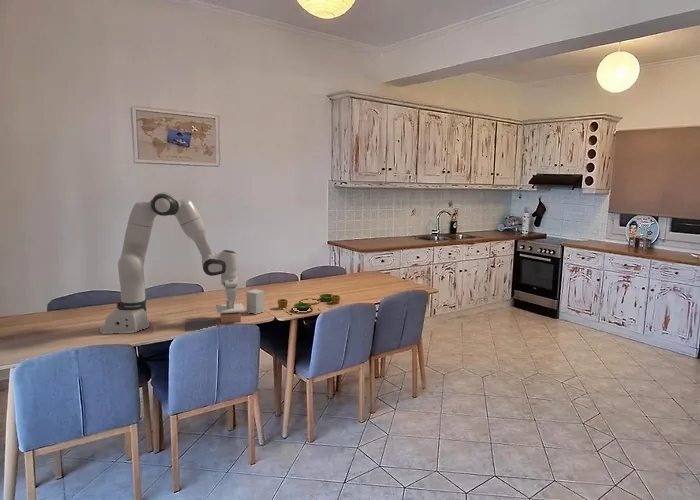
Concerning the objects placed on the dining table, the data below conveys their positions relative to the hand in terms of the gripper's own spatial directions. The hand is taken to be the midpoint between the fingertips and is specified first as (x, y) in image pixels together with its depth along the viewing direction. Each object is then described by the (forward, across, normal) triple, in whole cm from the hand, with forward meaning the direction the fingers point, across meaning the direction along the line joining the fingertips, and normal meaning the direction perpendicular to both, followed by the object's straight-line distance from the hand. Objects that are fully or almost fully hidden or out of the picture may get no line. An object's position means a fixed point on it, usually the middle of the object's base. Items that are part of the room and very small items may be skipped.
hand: (230, 305), depth 247 cm
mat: (+8, +6, -15) cm, 18 cm away
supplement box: (+8, -12, +15) cm, 21 cm away
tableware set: (+9, -19, +50) cm, 54 cm away
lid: (+2, 0, 0) cm, 2 cm away
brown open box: (+8, 0, 0) cm, 8 cm away
